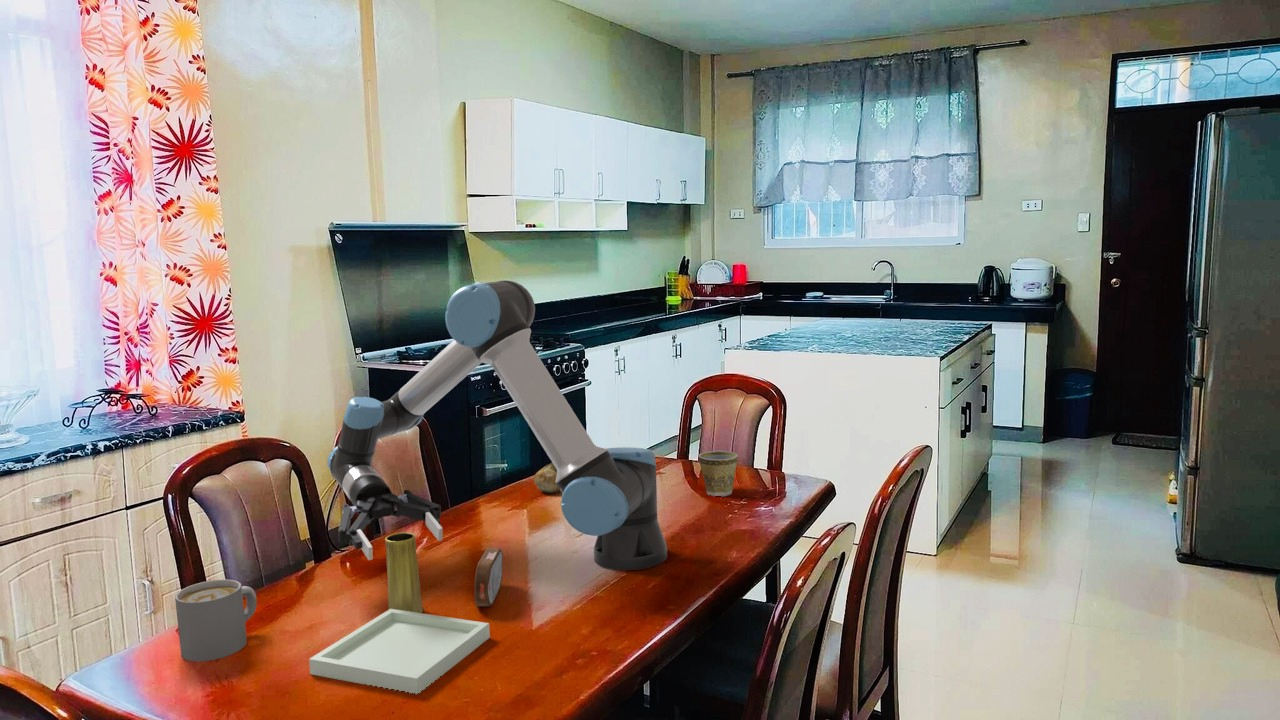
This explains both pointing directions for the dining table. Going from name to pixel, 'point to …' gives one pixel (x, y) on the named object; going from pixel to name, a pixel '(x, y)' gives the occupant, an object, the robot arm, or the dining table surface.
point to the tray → (400, 650)
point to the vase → (403, 573)
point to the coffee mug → (213, 619)
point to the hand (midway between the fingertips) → (406, 544)
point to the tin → (488, 577)
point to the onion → (547, 479)
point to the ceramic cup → (718, 471)
